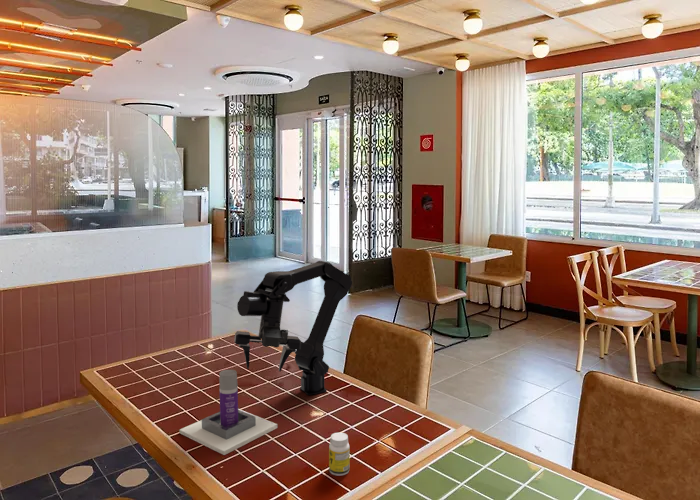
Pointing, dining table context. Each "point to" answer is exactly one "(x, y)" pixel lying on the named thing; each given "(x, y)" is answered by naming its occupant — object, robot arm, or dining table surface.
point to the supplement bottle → (339, 454)
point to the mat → (232, 443)
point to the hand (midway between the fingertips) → (263, 369)
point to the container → (228, 397)
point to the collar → (227, 432)
